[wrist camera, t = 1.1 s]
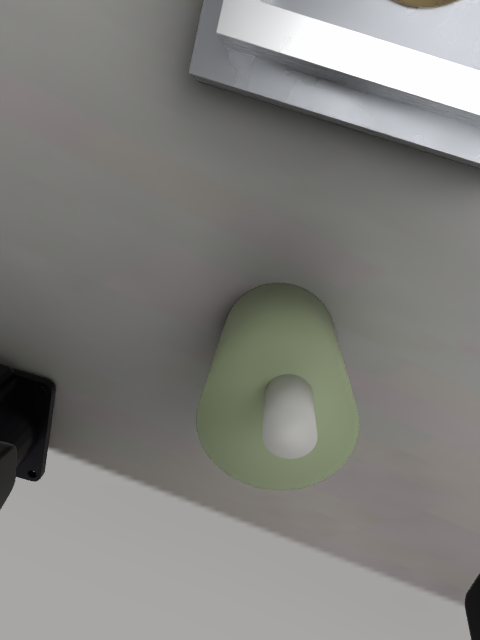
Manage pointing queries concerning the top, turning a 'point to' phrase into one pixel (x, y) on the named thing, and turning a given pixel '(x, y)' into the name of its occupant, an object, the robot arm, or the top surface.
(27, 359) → the top surface
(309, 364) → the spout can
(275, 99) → the grey square holder
